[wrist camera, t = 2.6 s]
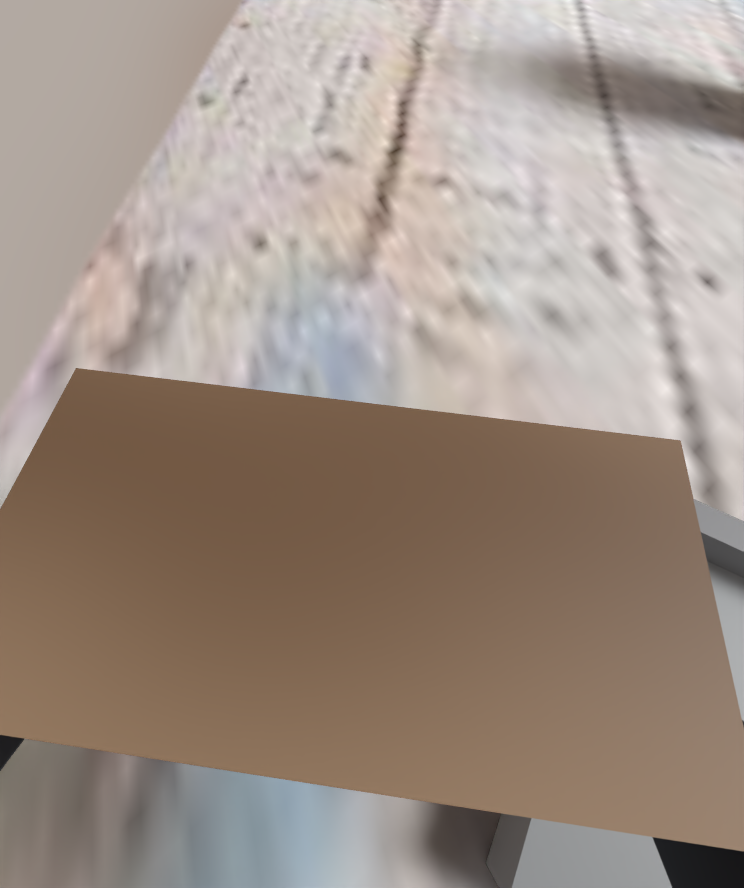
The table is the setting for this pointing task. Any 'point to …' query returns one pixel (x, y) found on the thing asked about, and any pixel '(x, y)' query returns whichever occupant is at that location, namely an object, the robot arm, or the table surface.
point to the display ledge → (610, 852)
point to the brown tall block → (372, 604)
